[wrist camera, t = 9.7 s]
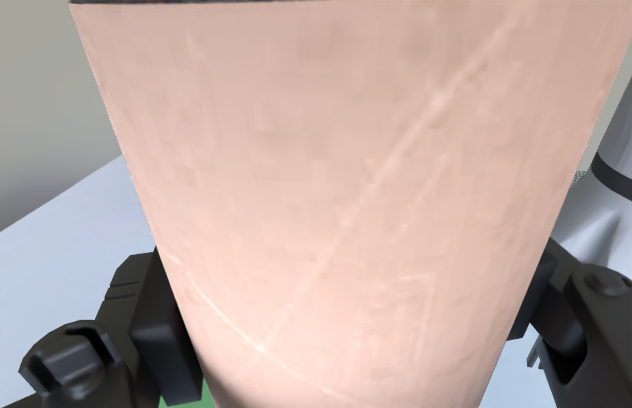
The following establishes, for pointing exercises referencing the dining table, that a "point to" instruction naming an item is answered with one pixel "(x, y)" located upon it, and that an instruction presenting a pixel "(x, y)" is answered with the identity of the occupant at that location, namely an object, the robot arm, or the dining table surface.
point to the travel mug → (352, 178)
